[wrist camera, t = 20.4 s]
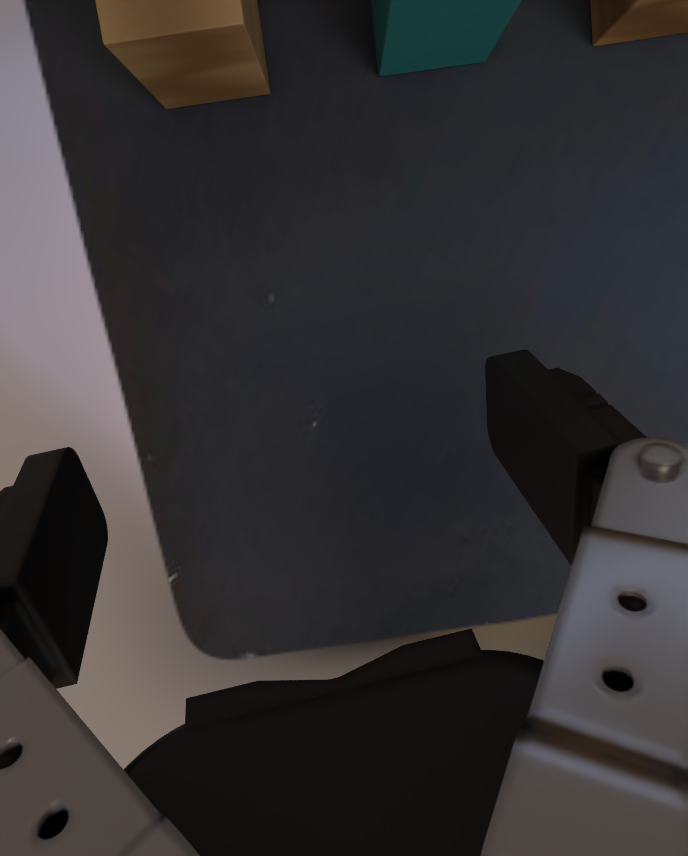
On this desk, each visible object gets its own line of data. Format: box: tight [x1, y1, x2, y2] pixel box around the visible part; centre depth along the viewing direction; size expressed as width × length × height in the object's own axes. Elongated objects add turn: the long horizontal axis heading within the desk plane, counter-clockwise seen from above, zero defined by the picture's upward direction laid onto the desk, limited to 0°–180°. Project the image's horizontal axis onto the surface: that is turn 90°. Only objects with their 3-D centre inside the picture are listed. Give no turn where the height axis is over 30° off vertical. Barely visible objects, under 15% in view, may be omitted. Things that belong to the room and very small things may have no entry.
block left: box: [95, 0, 270, 109], centre depth 26 cm, size 5×5×8 cm
